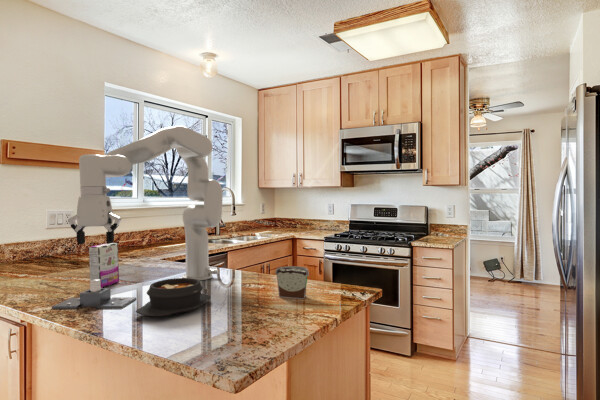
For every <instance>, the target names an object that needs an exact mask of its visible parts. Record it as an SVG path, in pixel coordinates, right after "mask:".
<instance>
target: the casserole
mask: <svg viewBox="0 0 600 400" xmlns="http://www.w3.org/2000/svg"><path fill="white" fill-rule="evenodd" d="M203 290H204V286H203V285H202V283H201V280H200V281H199V280H196V279H191V278H181V277H180V278H179V277H178V278H177V277H176V278H175V277H174V278H170V279H162V280H159V281H158V280H157V281H154V282H153V283H151V284H150V286H149V288H148V290H147V291H146V294H147V296H148V297H149V298H148V299H149V301H148V302H147V303H145V304H144V305H143V306H141V307H138V309H136V311H135V312H136V314H139V315H141V316H145V317H156V318H157V317H167V316H170V315H173V316H174V315H180V314H181V315H182V314H186V313H189V312H191V311H193V310H196V309H198V308H201V307H203V306H205V304H206V303H207V301H209V300H210V299H211V298H212V297H211V295H209V294H207V293H204V292H203Z"/></svg>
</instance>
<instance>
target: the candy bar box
mask: <svg viewBox="0 0 600 400" xmlns="http://www.w3.org/2000/svg"><path fill="white" fill-rule="evenodd" d="M118 245H119V244H118V242H113V243H110V244H107V243H103V244H98V245H93V246H92V245H91V246H88V259H89V263H88V264H89V281H90V280H94V279H100V282H101V288H103V287H104V288H107V287H110V286H113V285H115V284H117V283H119V282H120V271H119V269H120V268H119V267H120V266H119V246H118ZM106 286H107V287H106Z"/></svg>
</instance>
